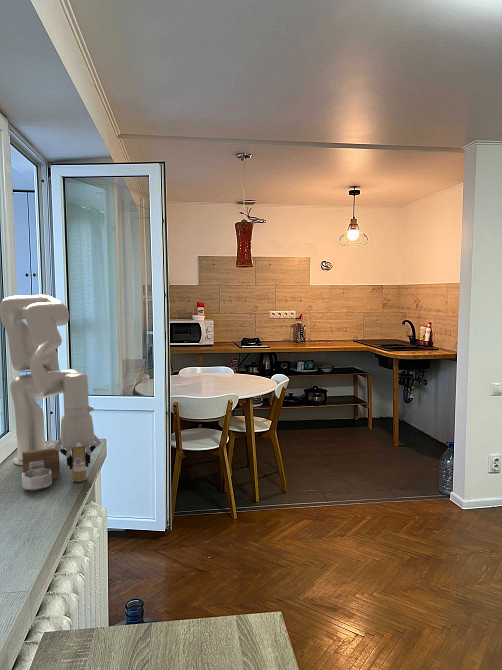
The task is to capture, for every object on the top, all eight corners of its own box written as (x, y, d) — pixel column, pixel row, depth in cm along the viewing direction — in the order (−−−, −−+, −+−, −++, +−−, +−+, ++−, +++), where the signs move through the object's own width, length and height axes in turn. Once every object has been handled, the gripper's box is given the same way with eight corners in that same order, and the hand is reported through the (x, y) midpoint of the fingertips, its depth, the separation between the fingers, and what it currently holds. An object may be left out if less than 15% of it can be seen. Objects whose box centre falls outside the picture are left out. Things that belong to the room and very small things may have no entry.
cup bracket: (52, 487, 163) (51, 469, 162) (22, 492, 160) (21, 473, 159) (51, 476, 173) (50, 458, 172) (22, 480, 170) (21, 462, 169)
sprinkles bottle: (73, 483, 168) (71, 442, 166) (71, 478, 172) (69, 438, 170) (87, 480, 170) (86, 440, 168) (85, 475, 174) (84, 436, 172)
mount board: (60, 477, 174) (58, 448, 173) (24, 483, 170) (22, 453, 169) (59, 472, 179) (57, 443, 178) (24, 477, 175) (22, 448, 174)
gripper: (102, 406, 175) (104, 459, 177) (48, 411, 168) (50, 466, 170) (105, 411, 168) (107, 467, 170) (48, 417, 161) (51, 474, 164)
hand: (78, 466), depth 170 cm, fingers closed on sprinkles bottle, 4 cm apart
